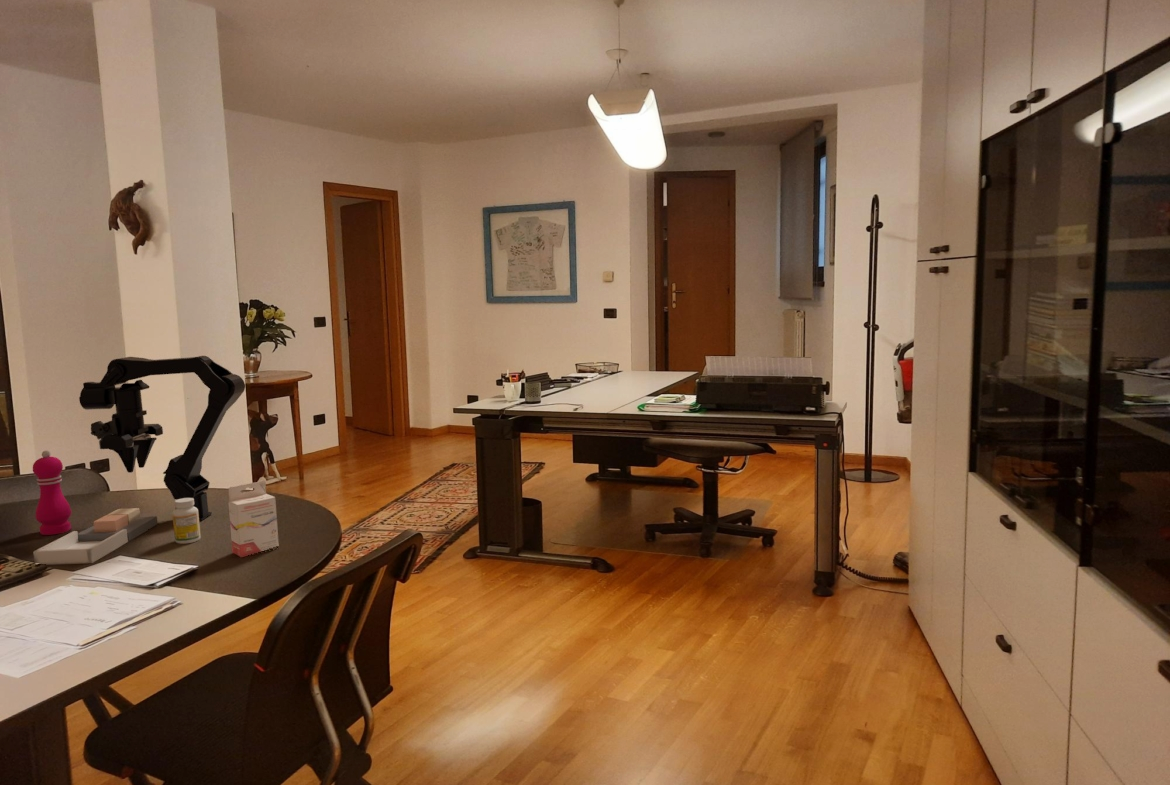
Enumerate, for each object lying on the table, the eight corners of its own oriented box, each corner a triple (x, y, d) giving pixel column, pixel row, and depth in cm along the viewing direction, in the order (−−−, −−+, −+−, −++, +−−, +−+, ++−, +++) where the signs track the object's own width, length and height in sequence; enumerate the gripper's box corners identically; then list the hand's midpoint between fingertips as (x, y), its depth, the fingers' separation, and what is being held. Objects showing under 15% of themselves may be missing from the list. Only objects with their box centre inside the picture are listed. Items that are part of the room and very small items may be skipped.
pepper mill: (55, 536, 189) (45, 454, 186) (30, 535, 190) (19, 453, 188) (80, 527, 196) (70, 447, 193) (55, 526, 197) (45, 447, 195)
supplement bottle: (194, 543, 180) (190, 502, 179) (170, 544, 180) (166, 503, 179) (205, 536, 186) (201, 496, 184) (181, 537, 185) (177, 497, 184)
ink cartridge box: (241, 558, 170) (234, 491, 168) (232, 553, 173) (225, 487, 171) (280, 548, 176) (274, 483, 174) (270, 543, 179) (265, 479, 177)
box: (127, 541, 183) (126, 529, 183) (92, 563, 169) (90, 549, 169) (75, 543, 183) (73, 531, 182) (35, 565, 169) (33, 551, 169)
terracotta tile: (128, 524, 190) (127, 514, 189) (116, 531, 185) (115, 520, 184) (107, 525, 190) (105, 515, 189) (94, 532, 185) (93, 521, 184)
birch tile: (140, 518, 195) (139, 508, 195) (129, 524, 190) (128, 514, 190) (119, 518, 195) (118, 508, 195) (108, 524, 190) (107, 514, 190)
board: (157, 524, 196) (156, 516, 196) (129, 541, 184) (128, 532, 183) (108, 525, 196) (107, 518, 196) (76, 543, 183) (75, 534, 183)
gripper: (117, 403, 205) (123, 462, 208) (73, 415, 187) (80, 480, 189) (160, 402, 206) (167, 461, 208) (121, 414, 187) (128, 478, 189)
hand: (136, 469), depth 199 cm, fingers open, 5 cm apart
